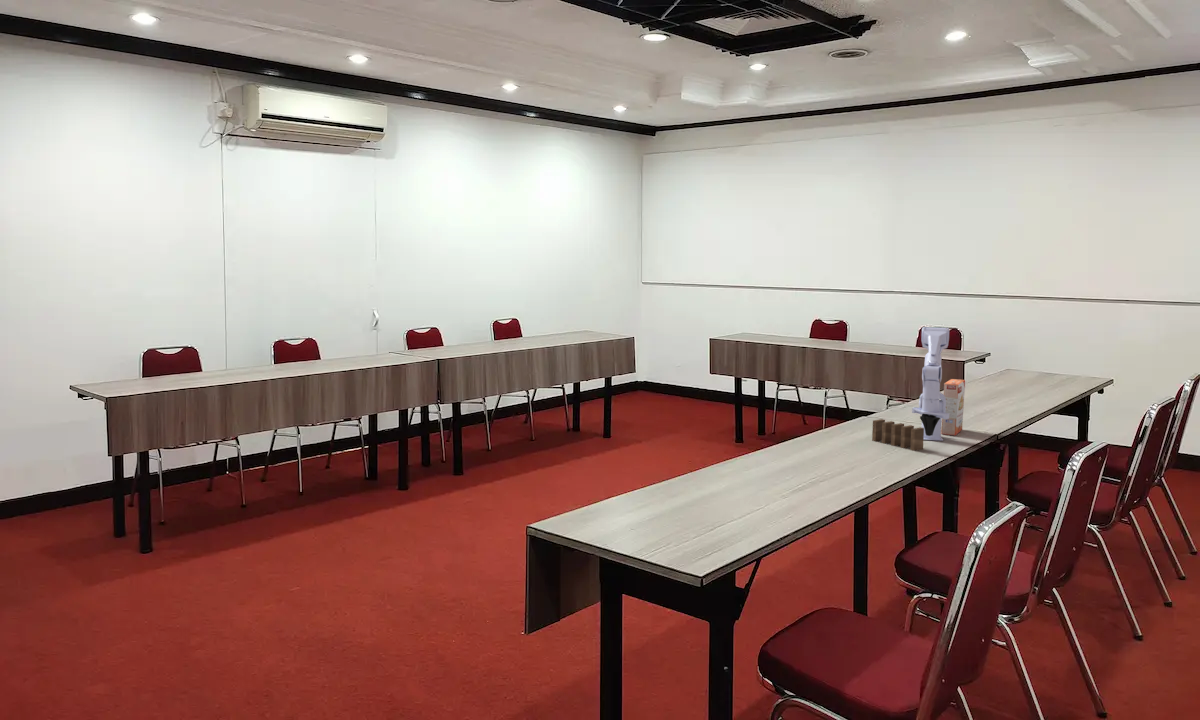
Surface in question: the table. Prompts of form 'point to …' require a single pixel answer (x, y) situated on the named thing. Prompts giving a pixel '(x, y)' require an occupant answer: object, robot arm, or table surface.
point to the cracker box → (953, 406)
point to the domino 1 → (877, 430)
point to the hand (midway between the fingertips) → (929, 435)
